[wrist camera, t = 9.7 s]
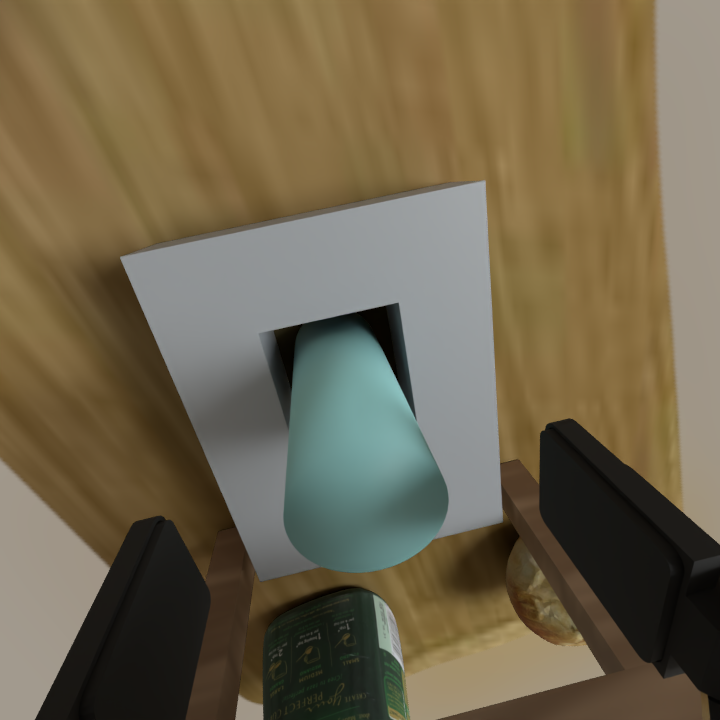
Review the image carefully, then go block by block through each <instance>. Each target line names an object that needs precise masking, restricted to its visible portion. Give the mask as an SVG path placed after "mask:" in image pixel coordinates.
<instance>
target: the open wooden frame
mask: <svg viewBox="0 0 720 720" xmlns="http://www.w3.org/2000/svg"><path fill="white" fill-rule="evenodd" d="M500 476H501V495H502V508H503V510H504V511H505V513H506V515H507V516H508V518H509V519H510V521H511V523H512V524H513V526H514V527H515V529H516V531H517V532H518V534H519V536H520V537H521V539H522V540H523V542H524V544H525V545H526V547H527V548H528V550H529V552H530V553H531V555H532V557H533V558H534V560H535V561H536V563H537V565H538V566H539V568H540V569H541V571H542V573H543V574H544V576H545V578H546V579H547V581H548V582H549V584H550V586H551V587H552V589H553V590H554V592H555V594H556V595H557V597H558V599H559V600H560V602H561V603H562V605H563V607H564V608H565V610H566V611H567V613H568V615H569V616H570V618H571V619H572V621H573V623H574V624H575V626H576V628H577V629H578V631H579V632H580V634H581V636H582V637H583V639H584V640H585V642H586V644H587V645H588V647H589V648H590V650H591V652H592V653H593V655H594V657H595V658H596V660H597V661H598V663H599V665H600V666H601V668H602V670H603V671H604V672H605V674H606V675H604V676H600V677H596V678H592V679H589V680H585V681H581V682H577V683H574V684H570V685H566V686H562V687H559V688H555V689H551V690H547V691H543V692H540V693H536V694H532V695H528V696H524V697H521V698H517V699H513V700H509V701H506V702H502V703H498V704H494V705H490V706H487V707H483V708H479V709H475V710H472V711H468V712H464V713H460V714H457V715H453V716H449V717H445V718H441V719H438V720H703V717H702V705H701V693H700V691H699V690H698V689H697V688H696V687H695V685H694V684H693V683H692V681H691V680H690V679H689V678H688V676H687V675H686V674H685V673H684V674H680V675H676V676H673V677H669V678H665V679H663V677H662V676H661V675H660V673H659V672H658V671H657V669H656V668H655V666H654V665H653V664H652V663H646V662H644V661H643V660H642V659H641V658H640V657H639V656H638V654H637V653H636V652H635V650H634V649H633V647H632V646H631V645H630V643H629V642H628V640H627V639H626V637H625V636H624V635H623V633H622V632H621V630H620V629H619V628H618V626H617V625H616V623H615V622H614V620H613V619H612V618H611V616H610V615H609V613H608V612H607V611H606V609H605V608H604V606H603V605H602V603H601V602H600V601H599V599H598V598H597V596H596V595H595V594H594V592H593V591H592V589H591V588H590V587H589V585H588V584H587V582H586V581H585V579H584V578H583V577H582V575H581V574H580V572H579V571H578V570H577V568H576V567H575V565H574V564H573V562H572V561H571V560H570V558H569V557H568V555H567V554H566V553H565V551H564V550H563V548H562V547H561V545H560V544H559V543H558V541H557V540H556V538H555V537H554V536H553V534H552V533H551V531H550V530H549V529H548V527H547V526H546V524H545V523H544V521H543V519H542V517H541V514H540V510H539V484H538V483H537V482H536V481H535V479H534V478H533V477H532V476H531V474H530V473H529V472H528V471H527V469H526V468H525V467H524V465H523V464H522V463H521V462H520V460H515V461H511V462H506V463H502V464H500ZM254 574H255V569H254V566H253V564H252V562H251V559H250V557H249V555H248V552H247V550H246V548H245V545H244V543H243V541H242V539H241V536H240V534H239V532H238V529H237V527H235V528H231V529H227V530H223V531H219V532H218V534H217V538H216V542H215V546H214V550H213V554H212V558H211V562H210V566H209V570H208V574H207V577H206V581H205V583H206V585H207V586H208V588H209V591H210V595H211V604H210V610H209V614H208V619H207V623H206V628H205V633H204V637H203V642H202V646H201V651H200V655H199V660H198V665H197V669H196V674H195V678H194V683H193V688H192V692H191V697H190V701H189V706H188V710H187V715H186V720H235V717H236V709H237V701H238V694H239V687H240V679H241V672H242V664H243V657H244V649H245V642H246V634H247V627H248V619H249V611H250V604H251V596H252V589H253V581H254Z"/></svg>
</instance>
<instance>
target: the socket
mask: <svg viewBox="0 0 720 720" xmlns="http://www.w3.org/2000/svg"><path fill="white" fill-rule="evenodd" d="M120 259H121V261H122V263H123V266H124V268H125V270H126V273H127V275H128V277H129V280H130V282H131V284H132V287H133V289H134V291H135V293H136V296H137V298H138V300H139V303H140V305H141V307H142V310H143V312H144V314H145V317H146V319H147V321H148V324H149V326H150V328H151V330H152V333H153V335H154V337H155V340H156V342H157V344H158V347H159V349H160V351H161V354H162V356H163V358H164V361H165V363H166V365H167V367H168V370H169V372H170V374H171V377H172V379H173V381H174V384H175V386H176V388H177V391H178V393H179V395H180V398H181V400H182V402H183V404H184V407H185V409H186V411H187V414H188V416H189V418H190V421H191V423H192V425H193V428H194V430H195V432H196V435H197V437H198V439H199V441H200V444H201V446H202V448H203V451H204V453H205V455H206V458H207V460H208V462H209V465H210V467H211V469H212V471H213V474H214V476H215V478H216V481H217V483H218V485H219V488H220V490H221V492H222V495H223V497H224V499H225V502H226V504H227V506H228V508H229V511H230V513H231V515H232V518H233V520H234V522H235V525H236V527H237V529H238V532H239V534H240V536H241V539H242V541H243V543H244V545H245V548H246V550H247V552H248V555H249V557H250V559H251V562H252V564H253V566H254V569H255V571H256V573H257V576H258V578H259V580H260V582H262V581H266V580H270V579H274V578H278V577H282V576H286V575H290V574H294V573H299V572H303V571H307V570H311V569H315V568H319V567H321V566H319V565H317V564H315V563H313V562H311V561H310V560H308V559H306V558H305V557H304V556H303V555H301V554H300V553H299V552H298V551H297V550H296V549H295V548H294V546H293V545H292V543H291V542H290V540H289V538H288V536H287V534H286V531H285V527H284V520H283V511H284V497H285V482H286V468H287V453H288V439H289V424H290V410H291V395H292V391H291V388H290V384H289V381H288V378H287V374H286V371H285V367H284V364H283V361H282V357H281V354H280V351H279V347H278V344H277V340H276V337H275V334H274V330H276V329H281V328H285V327H290V326H294V325H299V324H303V323H308V322H312V321H317V320H322V319H326V318H331V317H335V316H340V315H344V314H349V313H353V312H358V311H362V310H367V309H371V308H376V307H380V306H385V305H386V309H387V315H388V321H389V327H390V333H391V339H392V345H393V351H394V357H395V363H396V369H397V375H398V381H399V386H400V388H401V390H402V392H403V394H404V396H405V398H406V400H407V402H408V405H409V407H410V409H411V411H412V413H413V415H414V417H415V419H416V421H417V423H418V425H419V428H420V430H421V432H422V434H423V436H424V438H425V440H426V442H427V444H428V446H429V448H430V451H431V453H432V455H433V457H434V459H435V461H436V463H437V465H438V467H439V469H440V471H441V474H442V476H443V478H444V480H445V483H446V485H447V489H448V496H449V504H448V511H447V514H446V518H445V520H444V523H443V525H442V527H441V528H440V530H439V532H438V533H437V535H436V536H435V537H434V538H433V539H437V538H441V537H445V536H449V535H453V534H457V533H461V532H465V531H469V530H473V529H477V528H482V527H486V526H490V525H494V524H498V523H502V522H503V514H502V495H501V476H500V457H499V437H498V418H497V399H496V380H495V361H494V341H493V322H492V303H491V284H490V264H489V245H488V226H487V207H486V188H485V180H484V181H466V182H450V183H445V184H440V185H435V186H430V187H426V188H421V189H416V190H411V191H407V192H402V193H397V194H392V195H387V196H383V197H378V198H373V199H368V200H364V201H359V202H354V203H349V204H344V205H340V206H335V207H330V208H325V209H321V210H316V211H311V212H306V213H301V214H297V215H292V216H287V217H282V218H278V219H273V220H268V221H263V222H258V223H254V224H249V225H244V226H239V227H235V228H230V229H225V230H220V231H215V232H211V233H206V234H201V235H196V236H192V237H187V238H182V239H177V240H172V241H168V242H163V243H158V244H155V245H152V246H149V247H146V248H144V249H141V250H138V251H135V252H133V253H130V254H127V255H124V256H121V257H120Z"/></svg>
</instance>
